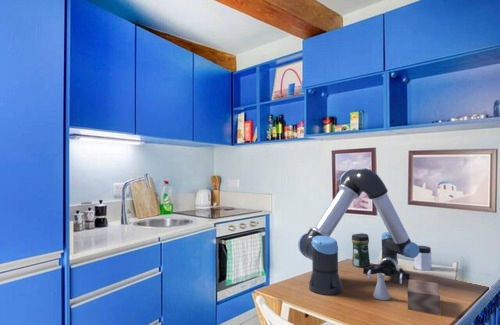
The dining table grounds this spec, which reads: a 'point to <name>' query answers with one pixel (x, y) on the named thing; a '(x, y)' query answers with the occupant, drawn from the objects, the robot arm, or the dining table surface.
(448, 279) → the dining table surface
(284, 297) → the dining table surface
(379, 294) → the flask
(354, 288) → the dining table surface
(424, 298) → the walnut block
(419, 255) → the jar
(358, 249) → the coffee jar
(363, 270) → the robot arm
